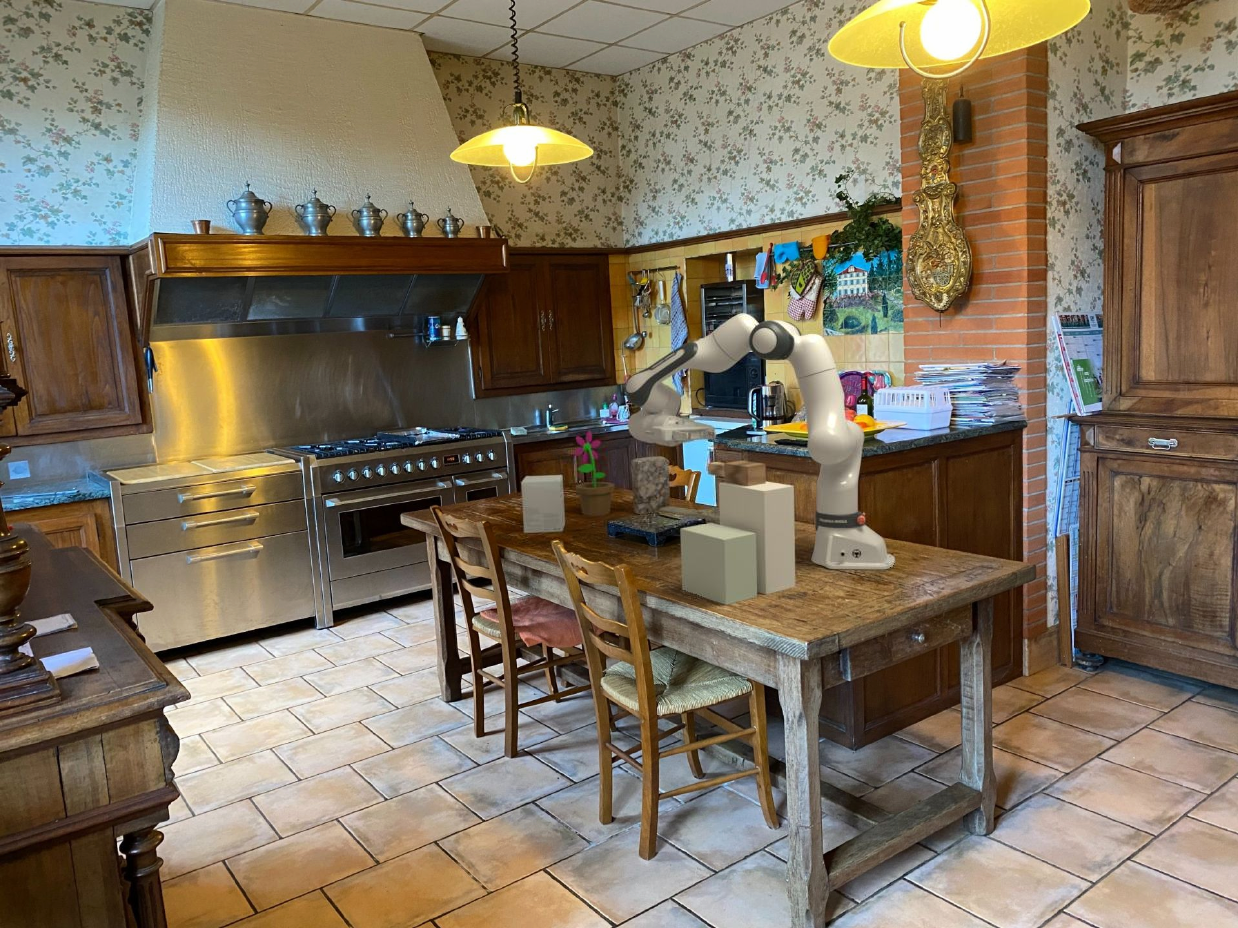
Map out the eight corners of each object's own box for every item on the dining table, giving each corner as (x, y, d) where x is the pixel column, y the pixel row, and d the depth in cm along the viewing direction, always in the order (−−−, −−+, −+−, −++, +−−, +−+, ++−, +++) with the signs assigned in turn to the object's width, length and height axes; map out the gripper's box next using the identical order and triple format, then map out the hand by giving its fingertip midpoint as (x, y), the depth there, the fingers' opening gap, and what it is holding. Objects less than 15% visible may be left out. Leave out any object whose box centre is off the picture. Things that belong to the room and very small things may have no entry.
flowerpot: (600, 507, 346) (597, 428, 342) (623, 512, 335) (619, 431, 330) (569, 513, 338) (565, 432, 334) (591, 518, 326) (587, 435, 322)
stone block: (640, 515, 327) (638, 460, 324) (631, 512, 333) (629, 458, 331) (672, 511, 333) (670, 457, 331) (662, 508, 340) (660, 455, 337)
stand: (682, 589, 233) (679, 489, 229) (749, 573, 246) (747, 478, 242) (726, 604, 219) (723, 498, 215) (795, 586, 232) (793, 485, 228)
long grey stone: (671, 515, 333) (652, 521, 327) (669, 501, 333) (650, 507, 326) (745, 522, 307) (726, 529, 301) (744, 507, 307) (724, 514, 300)
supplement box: (565, 523, 320) (563, 474, 317) (562, 531, 307) (560, 480, 304) (528, 525, 320) (525, 475, 318) (523, 533, 307) (520, 482, 304)
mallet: (703, 478, 245) (703, 460, 244) (721, 475, 248) (720, 457, 247) (748, 486, 230) (747, 466, 229) (765, 483, 233) (765, 464, 233)
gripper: (641, 420, 259) (673, 425, 248) (695, 419, 271) (728, 423, 260) (641, 443, 259) (672, 448, 249) (694, 440, 272) (727, 445, 261)
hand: (701, 435), depth 254 cm, fingers open, 8 cm apart
